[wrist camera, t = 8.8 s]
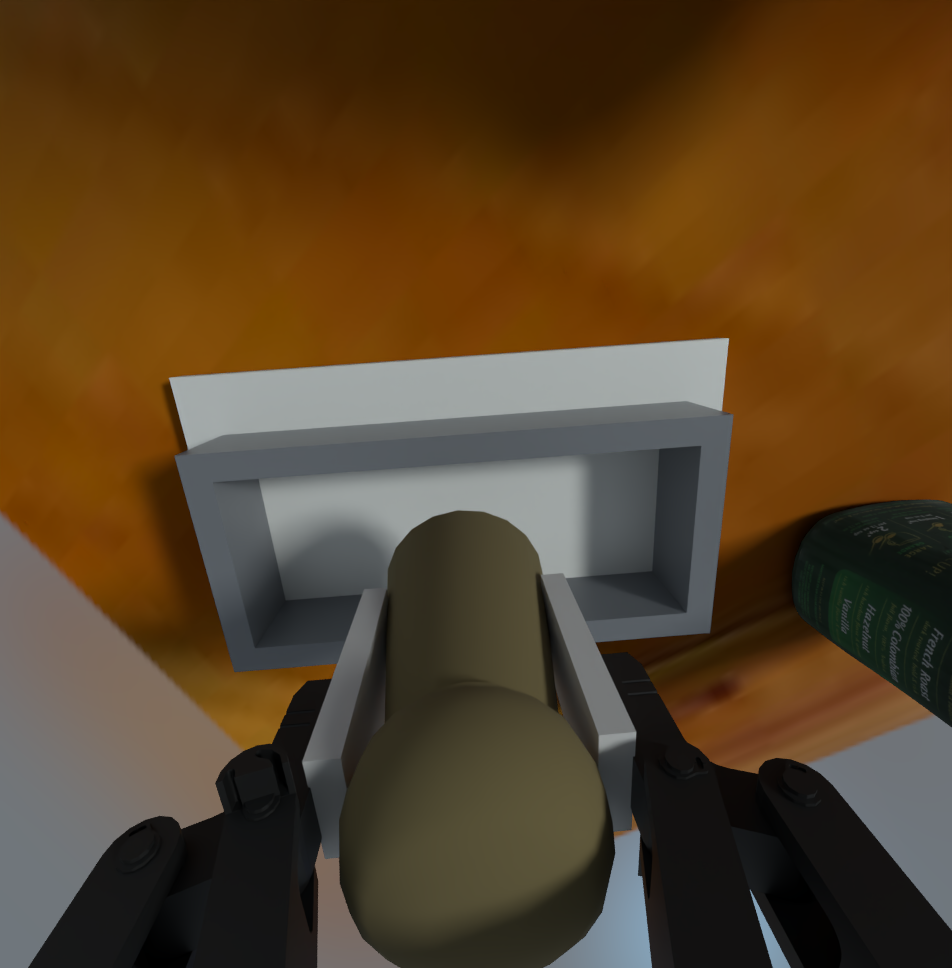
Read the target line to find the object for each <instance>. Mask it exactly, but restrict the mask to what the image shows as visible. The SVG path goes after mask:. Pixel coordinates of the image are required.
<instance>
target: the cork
mask: <svg viewBox="0 0 952 968" xmlns="http://www.w3.org/2000/svg"><path fill="white" fill-rule="evenodd" d="M541 575H543V573H542V568H541V564H540V559H539V555H538V553H537V551H536V550H535V548H534V547H533V545H532V544H531V542H530V540H529V539H528V537H527V536H526V535H525V534H524V533H523V532H522V531H520V530H519V529H518V528H516V527H515V526H514V525H513V524H511V523H510V522H509V521H507V520H505V519H502V518H500V517H497V516H494V515H492V514H489V513H486V512H482V511H462V510H457V511H453V512H449V513H445V514H441V515H437V516H433V517H431V518H430V519H428V520H426V521H425V522H423V523H421V524H420V525H418V526H416V527H415V528H413V529H411V531H410V532H409V533H408V534H407V535H406V536H405V538H404V539H403V540H402V541H401V542H400V543H399V545H398V546H397V547H396V549H395V551H394V554H393V556H392V559H391V562H390V564H389V567H388V579H387V592H388V606H387V631H386V683H385V724H384V725H383V726H382V727H381V728H380V729H379V730H378V731H377V732H376V733H375V734H374V735H373V736H372V738H371V739H370V741H369V743H368V745H367V747H366V749H365V751H364V752H363V754H362V756H361V758H360V760H359V762H358V764H357V767H356V769H355V772H354V774H353V776H352V779H351V781H350V783H349V786H348V788H347V791H346V795H345V799H344V803H343V806H342V810H341V814H340V818H339V864H340V865H339V866H340V885H341V888H342V891H343V894H344V897H345V900H346V903H347V906H348V909H349V912H350V914H351V916H352V918H353V920H354V922H355V924H356V926H357V928H358V930H359V932H360V934H361V936H362V938H363V939H364V940H365V941H366V942H367V943H368V944H370V945H371V946H372V947H373V948H374V949H375V950H376V951H377V952H378V953H380V954H381V955H382V956H383V957H384V958H385V959H387V960H388V961H390V962H392V963H393V964H395V965H397V966H398V967H400V968H543V967H545V966H547V965H550V964H551V963H552V962H554V961H555V960H556V959H558V958H559V957H560V956H561V955H563V954H564V953H565V952H567V951H568V950H569V949H570V948H572V947H573V946H574V945H575V944H577V943H578V942H579V941H580V940H581V939H583V938H584V937H585V936H586V934H587V933H588V931H589V930H590V928H591V927H592V926H593V924H594V923H595V921H596V920H597V918H598V917H599V915H600V914H601V913H602V910H603V905H604V901H605V896H606V892H607V888H608V883H609V878H610V874H611V870H612V866H613V861H614V856H615V845H614V833H613V822H612V817H611V812H610V808H609V803H608V798H607V794H606V790H605V787H604V784H603V782H602V779H601V776H600V773H599V770H598V767H597V764H596V763H595V761H594V760H593V758H592V757H591V755H590V754H589V752H588V751H587V749H586V747H585V746H584V744H583V743H582V741H581V740H580V739H579V737H578V736H577V734H576V733H575V732H574V730H573V729H572V728H571V726H570V725H569V723H568V722H567V721H566V719H565V718H564V717H563V716H562V715H560V714H559V713H558V707H557V697H556V688H555V679H554V670H553V661H552V652H551V643H550V633H549V627H548V621H547V616H546V610H545V604H544V598H543V592H542V587H541Z"/></svg>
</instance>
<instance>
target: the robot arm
mask: <svg viewBox="0 0 952 968" xmlns="http://www.w3.org/2000/svg"><path fill="white" fill-rule="evenodd" d="M541 587H542V592H543V598H544V604H545V610H546V616H547V621H548V627H549V633H550V643H551V652H552V661H553V670H554V679H555V688H556V692H557V695H558V699H559V702H560V706H561V709H562V713H563V716H564V718H565V719H566V721H567V722H568V723H569V725H570V726H571V728H572V729H573V730H574V732H575V733H576V734H577V736H578V737H579V739H580V740H581V741H582V743H583V744H584V746H585V747H586V749H587V751H588V752H589V754H590V755H591V757H592V758H593V760H594V761H595V763H596V764H597V767H598V770H599V773H600V776H601V779H602V782H603V784H604V787H605V790H606V794H607V798H608V803H609V808H610V812H611V817H612V822H613V832H615V831H625V830H631V828H632V813H633V815H634V818H635V821H636V823H637V826H638V829H639V831H640V834H641V835H640V851H639V870H638V876H642V878H643V887H644V896H645V906H646V915H647V924H648V933H649V942H650V952H651V961H652V968H773V967H772V964H771V960H770V957H769V954H768V950H767V947H766V943H765V940H764V937H763V934H762V930H761V927H760V923H759V920H758V916H757V913H756V910H755V906H754V903H753V900H752V896H751V893H750V890H751V891H752V893H753V895H754V897H755V899H756V901H757V903H758V905H759V907H760V909H761V911H762V913H763V915H764V917H765V919H766V921H767V923H768V924H769V926H770V928H771V930H772V932H773V934H774V936H775V938H776V940H777V942H778V944H779V946H780V948H781V950H782V952H783V954H784V956H785V957H786V959H787V961H788V963H789V965H790V967H791V968H952V930H951V929H950V928H949V927H948V926H947V924H946V923H945V922H944V921H943V920H942V918H941V917H940V916H939V915H938V914H937V912H936V911H935V910H934V909H933V907H932V906H931V905H930V904H929V902H928V901H927V900H926V899H925V897H924V896H923V895H922V894H921V893H920V891H919V890H918V889H917V888H916V886H915V885H914V884H913V883H912V882H911V880H910V879H909V878H908V877H907V876H906V874H905V873H904V872H903V871H902V869H901V868H900V867H899V866H898V864H897V863H896V862H895V861H894V860H893V858H892V857H891V856H890V855H889V853H888V852H887V851H886V850H885V849H884V847H883V846H882V845H881V844H880V843H879V841H878V840H877V839H876V838H875V836H874V835H873V834H872V833H871V832H870V830H869V829H868V828H867V827H866V825H865V824H864V823H863V822H862V821H861V819H860V818H859V817H858V816H857V814H856V813H855V812H854V811H853V810H852V808H851V807H850V806H849V805H848V803H847V802H846V801H845V800H844V799H843V797H842V796H841V795H840V794H839V793H838V791H837V790H836V789H835V788H834V786H833V785H832V784H831V783H830V782H829V781H828V780H826V779H825V778H824V777H823V776H822V775H821V774H820V773H818V772H817V771H815V770H813V769H812V768H810V767H809V766H807V765H805V764H802V763H799V762H796V761H794V760H791V759H781V758H775V759H771V760H767V761H765V762H764V763H763V764H762V766H761V767H760V768H759V773H758V774H755V773H750V772H745V771H740V770H735V769H730V768H726V767H722V766H719V765H716V764H714V763H712V762H710V761H709V759H708V758H707V757H706V756H705V755H704V754H703V753H702V752H701V751H700V750H699V749H698V748H696V747H694V746H693V745H691V744H689V743H687V742H686V741H685V739H684V738H683V736H682V734H681V732H680V731H679V729H678V727H677V725H676V724H675V722H674V720H673V718H672V717H671V715H670V713H669V711H668V710H667V708H666V706H665V704H664V703H663V701H662V699H661V697H660V696H659V694H657V690H656V689H655V687H654V685H653V683H652V682H650V678H649V676H648V675H647V673H646V671H645V669H644V668H643V666H642V664H641V663H639V662H638V661H637V660H636V659H634V658H633V657H632V656H631V655H630V654H628V653H627V652H625V653H613V654H602V655H601V654H600V652H599V650H598V648H597V646H596V643H595V641H594V639H593V637H592V635H591V632H590V630H589V628H588V626H587V624H586V622H585V619H584V617H583V615H582V613H581V611H580V609H579V606H578V604H577V602H576V600H575V598H574V596H573V593H572V591H571V589H570V587H569V585H568V583H567V580H566V578H565V576H564V574H563V573H558V574H546V575H541ZM387 606H388V592H387V588H375V589H364V591H363V594H362V597H361V599H360V602H359V605H358V608H357V611H356V613H355V616H354V619H353V622H352V624H351V627H350V630H349V633H348V636H347V638H346V641H345V644H344V647H343V649H342V652H341V655H340V658H339V661H338V663H337V666H336V669H335V672H334V675H333V677H332V679H325V680H313V681H307V682H306V683H305V684H304V685H303V686H302V687H301V688H300V689H299V691H298V692H297V693H296V694H295V695H294V696H293V698H292V700H291V703H290V705H289V707H288V709H287V712H286V715H285V716H284V718H283V720H282V723H281V725H280V729H278V732H277V734H276V736H275V738H274V740H273V743H272V744H265V745H258V746H255V747H252V748H250V749H248V750H245V751H243V752H242V753H240V754H239V755H237V756H236V757H235V758H233V759H232V760H231V761H230V762H229V763H228V764H227V765H226V766H225V767H224V769H223V770H222V771H221V772H220V774H219V777H218V779H217V781H216V783H215V784H216V787H217V790H218V793H219V796H220V800H221V803H222V805H223V809H224V812H223V813H220V814H218V815H216V816H214V817H212V818H210V819H207V820H204V821H202V822H199V823H196V824H193V825H191V826H188V827H186V828H183V829H181V828H180V826H179V823H178V822H177V821H176V820H174V819H173V818H172V817H164V816H158V817H155V818H151V819H147V820H145V821H143V822H141V823H139V824H137V825H135V826H133V827H131V828H130V829H128V830H127V831H126V832H125V833H124V834H122V835H121V836H120V837H119V838H117V839H116V840H115V841H114V842H113V843H112V844H111V846H110V847H109V848H108V849H107V850H106V852H105V853H104V854H103V855H102V857H101V858H100V860H99V861H98V863H97V864H96V866H95V867H94V869H93V871H92V872H91V873H90V875H89V876H88V878H87V879H86V881H85V882H84V884H83V885H82V887H81V888H80V890H79V891H78V893H77V894H76V896H75V897H74V899H73V901H72V902H71V904H70V905H69V907H68V908H67V910H66V911H65V913H64V914H63V916H62V917H61V919H60V920H59V922H58V923H57V925H56V927H55V928H54V929H53V931H52V932H51V934H50V935H49V937H48V938H47V940H46V941H45V943H44V944H43V946H42V948H41V949H40V951H39V952H38V953H37V955H36V957H35V958H34V960H33V961H32V963H31V964H30V966H29V967H28V968H317V934H318V933H317V932H318V878H317V873H316V869H315V862H316V859H317V855H318V851H319V847H320V843H321V844H322V848H323V852H324V856H325V859H328V858H339V818H340V814H341V810H342V806H343V803H344V799H345V795H346V791H347V788H348V786H349V783H350V781H351V779H352V776H353V774H354V772H355V769H356V767H357V764H358V762H359V760H360V758H361V756H362V754H363V752H364V751H365V749H366V747H367V745H368V743H369V741H370V739H371V738H372V736H373V735H374V734H375V733H376V732H377V731H378V730H379V729H380V728H381V727H382V726H383V725H384V722H385V683H386V631H387Z"/></svg>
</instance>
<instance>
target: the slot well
mask: <svg viewBox="0 0 952 968" xmlns="http://www.w3.org/2000/svg"><path fill="white" fill-rule="evenodd" d="M728 342H729V338H712V339H698V340H683V341H669V342H655V343H641V344H627V345H613V346H599V347H585V348H570V349H556V350H542V351H528V352H514V353H500V354H486V355H472V356H458V357H443V358H429V359H415V360H401V361H387V362H373V363H359V364H345V365H331V366H316V367H302V368H288V369H274V370H260V371H246V372H232V373H218V374H203V375H189V376H179V377H172V378H169V379H170V383H171V387H172V391H173V394H174V398H175V402H176V406H177V409H178V413H179V417H180V421H181V424H182V428H183V432H184V436H185V439H186V443H187V447H188V450H187V451H185V452H182V453H180V454H178V455H175V460H176V463H177V467H178V471H179V474H180V478H181V481H182V485H183V489H184V492H185V496H186V499H187V503H188V507H189V510H190V514H191V517H192V521H193V525H194V528H195V532H196V535H197V539H198V543H199V546H200V550H201V553H202V557H203V561H204V564H205V568H206V571H207V575H208V579H209V582H210V586H211V589H212V593H213V597H214V600H215V604H216V607H217V611H218V614H219V618H220V622H221V625H222V629H223V632H224V636H225V640H226V643H227V647H228V650H229V654H230V658H231V661H232V665H233V668H234V672H241V671H253V670H265V669H277V668H290V667H302V666H314V665H326V664H337V663H338V661H339V658H340V655H341V652H342V649H343V647H344V644H345V641H346V638H347V636H348V633H349V630H350V627H351V624H352V622H353V619H354V616H355V613H356V611H357V608H358V605H359V602H360V599H361V597H362V594H363V591H364V589H375V588H387V579H388V567H389V564H390V562H391V559H392V556H393V554H394V551H395V549H396V547H397V546H398V545H399V543H400V542H401V541H402V540H403V539H404V538H405V536H406V535H407V534H408V533H409V532H410V531H411V529H413V528H415V527H416V526H418V525H420V524H421V523H423V522H425V521H426V520H428V519H430V518H431V517H433V516H437V515H441V514H445V513H449V512H453V511H457V510H462V511H482V512H486V513H489V514H492V515H494V516H497V517H500V518H502V519H505V520H507V521H509V522H510V523H511V524H513V525H514V526H515V527H516V528H518V529H519V530H520V531H522V532H523V533H524V534H525V535H526V536H527V537H528V539H529V540H530V542H531V544H532V545H533V547H534V548H535V550H536V551H537V553H538V555H539V559H540V564H541V568H542V573H543V575H546V574H558V573H563V574H564V576H565V578H566V580H567V583H568V585H569V587H570V589H571V591H572V593H573V596H574V598H575V600H576V602H577V604H578V606H579V609H580V611H581V613H582V615H583V617H584V619H585V622H586V624H587V626H588V628H589V630H590V632H591V635H592V637H593V639H594V641H595V642H605V641H617V640H629V639H641V638H653V637H666V636H678V635H690V634H702V633H710V628H711V619H712V609H713V600H714V591H715V581H716V572H717V563H718V553H719V544H720V535H721V525H722V516H723V507H724V497H725V488H726V478H727V469H728V460H729V450H730V441H731V432H732V422H733V414H730V413H726V412H723V411H722V403H723V393H724V383H725V372H726V362H727V352H728Z"/></svg>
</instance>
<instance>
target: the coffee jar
mask: <svg viewBox="0 0 952 968" xmlns="http://www.w3.org/2000/svg"><path fill="white" fill-rule="evenodd" d="M792 595H793V601H794V605H795V607H796V610H797V612H798V614H799V615H800V616H801V618H802V619H803V620H804V621H806V622H807V623H808V624H809V625H811V626H812V627H813V628H815V629H816V630H817V631H818V632H820V633H821V634H822V635H824V636H825V637H826V638H827V639H829V640H830V641H832V642H833V643H834V644H836V645H837V646H838V647H840V648H841V649H842V650H844V651H845V652H846V653H848V654H849V655H851V656H852V657H854V658H855V659H857V660H858V661H859V662H861V663H863V664H864V665H865V666H867V667H868V668H870V669H871V670H873V671H874V672H876V673H877V674H879V675H880V676H881V677H883V678H884V679H886V680H887V681H889V682H890V683H892V684H893V685H894V686H896V687H897V688H899V689H900V690H901V691H903V692H904V693H906V694H907V695H908V696H910V697H911V698H912V699H914V700H915V701H917V702H918V703H919V704H921V705H922V706H923V707H925V708H926V709H928V710H929V711H930V712H932V713H933V714H934V715H936V716H937V717H938V718H940V719H941V720H943V721H944V722H945V723H947V724H948V725H949V726H951V727H952V504H950V503H948V502H944V501H939V500H901V501H891V502H884V503H876V504H870V505H865V506H860V507H856V508H851V509H847V510H843V511H840V512H836V513H833V514H831V515H828V516H826V517H824V518H823V519H821V520H819V521H818V522H817V523H816V524H815V525H814V526H813V527H812V529H811V530H810V531H809V532H808V533H807V534H806V536H805V537H804V539H803V540H802V542H801V545H800V547H799V550H798V552H797V554H796V557H795V562H794V566H793V570H792Z"/></svg>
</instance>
